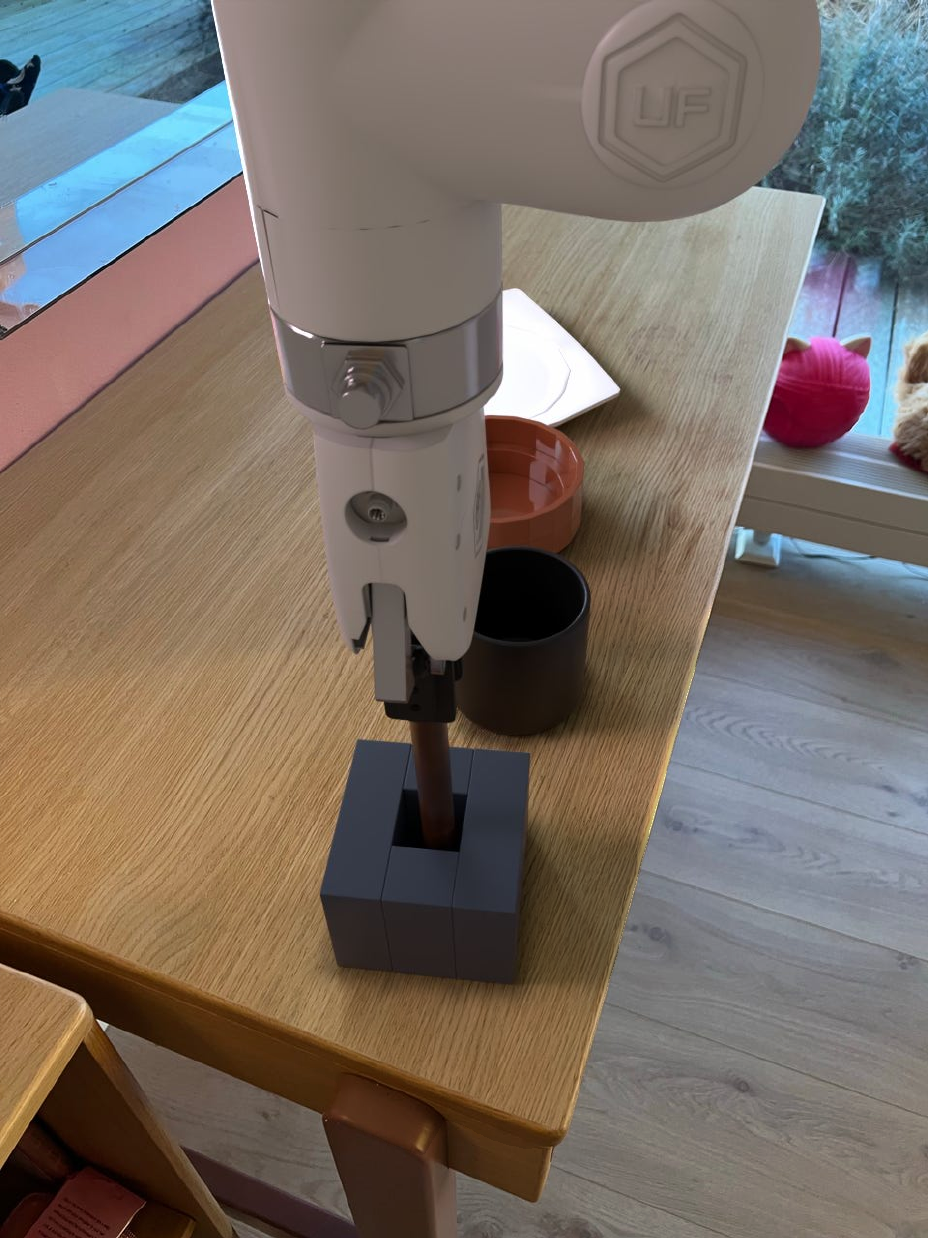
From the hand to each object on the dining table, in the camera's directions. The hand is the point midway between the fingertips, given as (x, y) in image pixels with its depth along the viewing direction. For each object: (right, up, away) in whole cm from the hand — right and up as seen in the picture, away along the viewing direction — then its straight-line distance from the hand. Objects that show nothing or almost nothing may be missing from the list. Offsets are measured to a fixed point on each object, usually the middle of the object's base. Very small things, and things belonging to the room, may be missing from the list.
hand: (425, 693), depth 46 cm
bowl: (+4, +12, +37) cm, 39 cm away
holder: (0, -13, +13) cm, 18 cm away
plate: (+2, +26, +52) cm, 58 cm away
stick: (0, -9, +9) cm, 13 cm away
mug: (+6, 0, +25) cm, 26 cm away
